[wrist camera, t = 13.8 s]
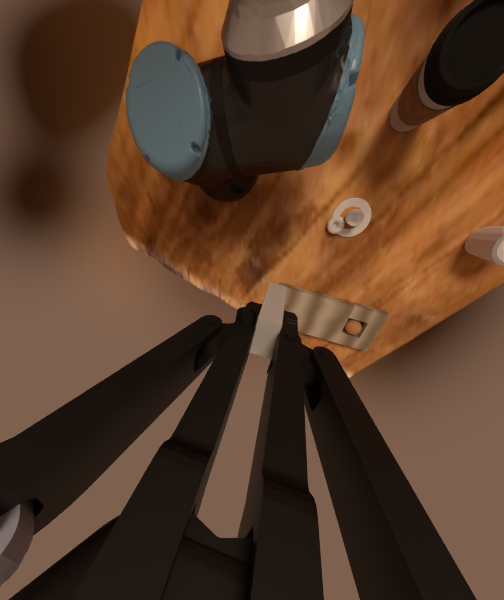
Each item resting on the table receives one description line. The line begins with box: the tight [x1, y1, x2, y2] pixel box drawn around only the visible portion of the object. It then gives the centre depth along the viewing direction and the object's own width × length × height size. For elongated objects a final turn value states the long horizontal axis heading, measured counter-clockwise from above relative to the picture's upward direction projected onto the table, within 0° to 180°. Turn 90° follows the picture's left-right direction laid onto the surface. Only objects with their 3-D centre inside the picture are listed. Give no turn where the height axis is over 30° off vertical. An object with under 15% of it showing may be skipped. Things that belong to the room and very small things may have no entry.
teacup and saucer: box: [327, 198, 371, 237], centre depth 39 cm, size 9×8×4 cm
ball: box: [345, 319, 362, 335], centre depth 49 cm, size 4×4×4 cm
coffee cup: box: [390, 0, 504, 132], centre depth 26 cm, size 8×8×15 cm
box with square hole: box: [280, 283, 389, 352], centre depth 50 cm, size 28×12×2 cm, turn 78°
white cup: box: [464, 226, 504, 266], centre depth 34 cm, size 7×7×7 cm
